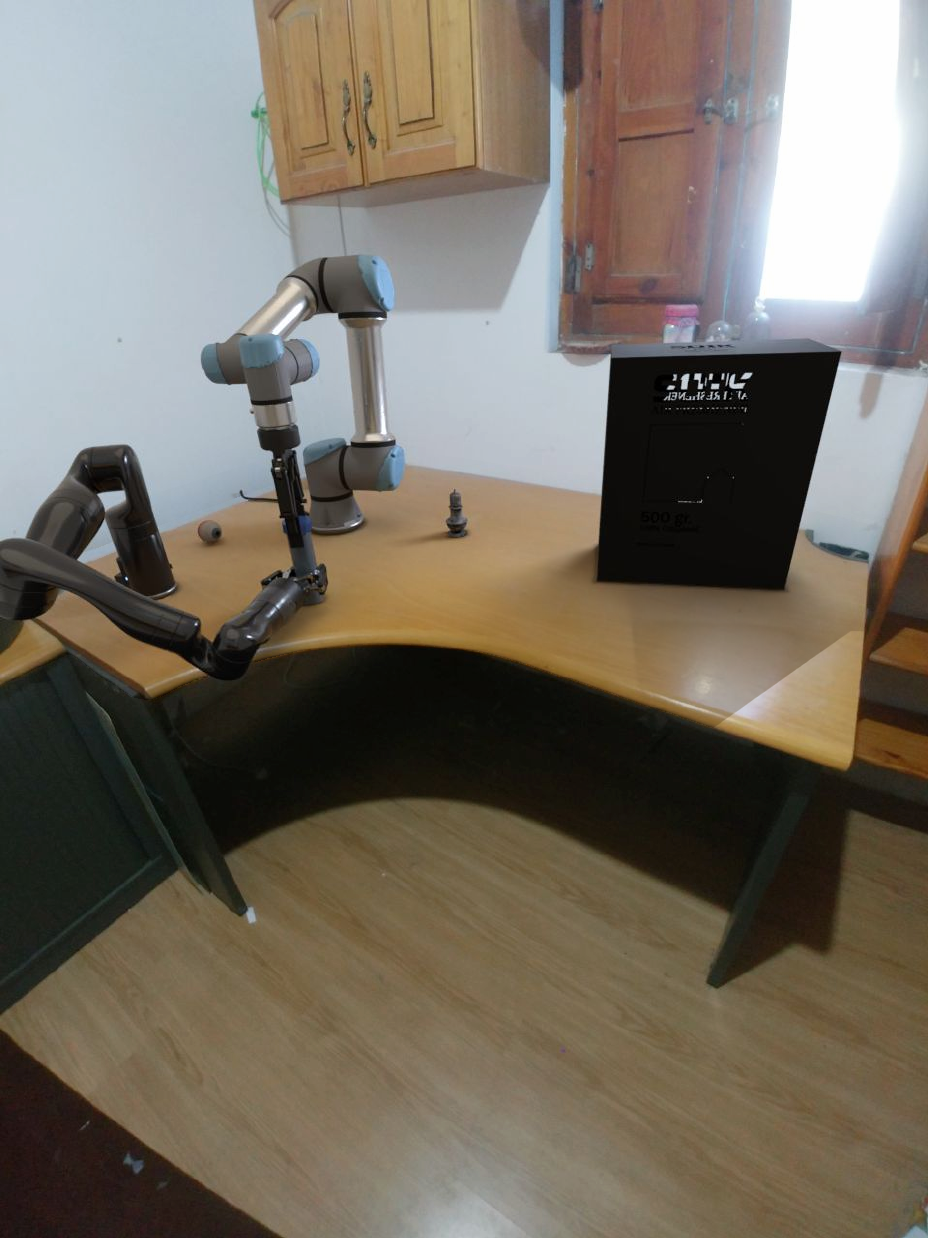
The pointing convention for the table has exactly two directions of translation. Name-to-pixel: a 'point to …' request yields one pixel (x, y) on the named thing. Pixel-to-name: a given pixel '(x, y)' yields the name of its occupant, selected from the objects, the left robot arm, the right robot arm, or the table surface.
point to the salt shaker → (456, 516)
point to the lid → (304, 522)
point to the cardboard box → (710, 460)
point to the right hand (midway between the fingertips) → (300, 540)
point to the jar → (305, 564)
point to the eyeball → (209, 531)
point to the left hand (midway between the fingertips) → (311, 567)
